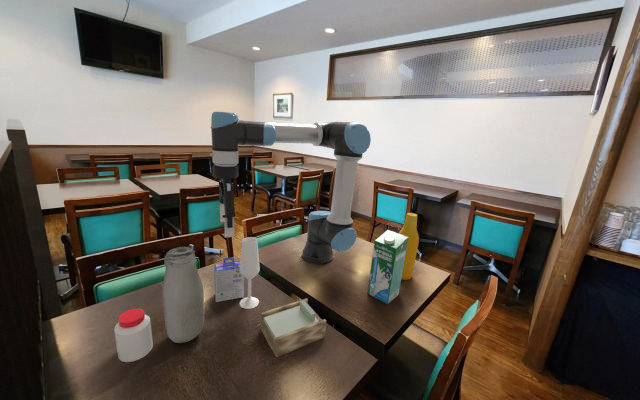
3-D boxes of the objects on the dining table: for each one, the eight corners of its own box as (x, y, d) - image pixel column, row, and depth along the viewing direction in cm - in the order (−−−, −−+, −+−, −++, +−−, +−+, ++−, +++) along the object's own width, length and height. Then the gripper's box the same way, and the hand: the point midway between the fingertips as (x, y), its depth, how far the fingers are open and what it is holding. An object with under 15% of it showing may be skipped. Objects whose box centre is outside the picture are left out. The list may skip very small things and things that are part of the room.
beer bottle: (403, 268, 127) (414, 210, 119) (416, 279, 118) (428, 217, 111) (387, 270, 124) (396, 211, 116) (398, 281, 115) (409, 218, 108)
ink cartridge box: (242, 289, 101) (242, 254, 97) (244, 297, 96) (244, 261, 93) (214, 293, 97) (213, 257, 94) (215, 302, 92) (214, 265, 89)
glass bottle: (192, 319, 84) (188, 237, 77) (211, 335, 78) (208, 248, 71) (159, 338, 76) (150, 248, 69) (178, 357, 70) (170, 261, 63)
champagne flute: (251, 311, 90) (252, 246, 84) (235, 305, 92) (234, 241, 86) (262, 299, 96) (264, 238, 90) (246, 294, 98) (247, 234, 92)
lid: (304, 307, 88) (304, 297, 87) (319, 325, 80) (320, 314, 79) (263, 320, 80) (263, 310, 79) (276, 341, 73) (276, 330, 72)
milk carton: (367, 293, 105) (375, 234, 98) (378, 284, 111) (387, 229, 105) (387, 304, 99) (397, 242, 92) (398, 294, 105) (408, 236, 99)
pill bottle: (114, 365, 66) (108, 329, 64) (122, 343, 73) (117, 309, 70) (150, 357, 70) (146, 322, 67) (154, 336, 76) (151, 303, 74)
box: (305, 313, 91) (306, 298, 89) (324, 337, 81) (326, 320, 79) (260, 329, 82) (260, 312, 81) (276, 357, 72) (276, 339, 71)
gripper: (209, 158, 91) (211, 217, 97) (216, 171, 69) (218, 245, 75) (232, 159, 94) (233, 215, 100) (245, 171, 73) (245, 242, 78)
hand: (226, 228), depth 87 cm, fingers open, 13 cm apart
